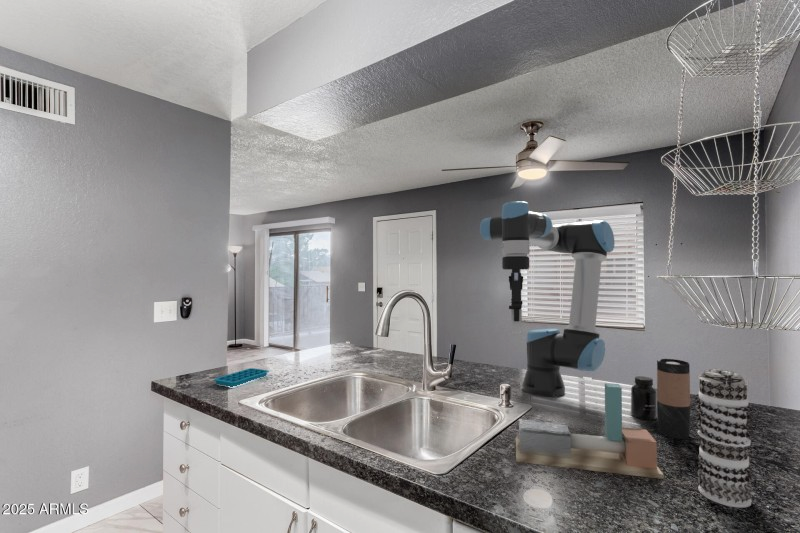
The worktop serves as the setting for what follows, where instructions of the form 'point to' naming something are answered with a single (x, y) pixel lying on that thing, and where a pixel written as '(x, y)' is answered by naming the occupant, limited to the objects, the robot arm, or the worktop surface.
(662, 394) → the travel mug
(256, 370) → the ice cube tray
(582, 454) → the base board
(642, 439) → the socket
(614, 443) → the slip tube
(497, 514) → the worktop surface
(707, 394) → the decorative candle
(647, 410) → the supplement bottle
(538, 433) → the sleeve
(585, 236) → the robot arm
